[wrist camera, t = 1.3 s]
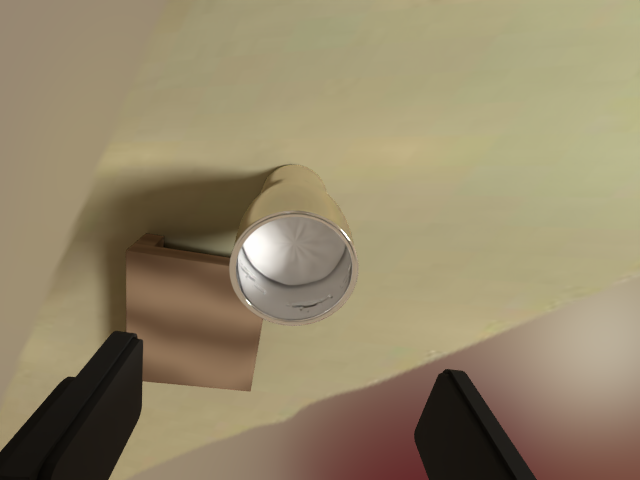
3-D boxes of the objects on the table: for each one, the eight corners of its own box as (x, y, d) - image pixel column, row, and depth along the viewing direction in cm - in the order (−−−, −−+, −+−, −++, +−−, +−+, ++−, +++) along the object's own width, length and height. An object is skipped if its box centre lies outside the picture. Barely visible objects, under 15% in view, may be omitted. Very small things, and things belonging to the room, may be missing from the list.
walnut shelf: (146, 233, 31) (125, 250, 27) (273, 253, 32) (271, 272, 29) (144, 351, 36) (126, 379, 32) (254, 363, 37) (250, 391, 34)
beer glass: (302, 245, 32) (309, 349, 18) (241, 205, 30) (198, 288, 16) (346, 189, 30) (390, 257, 17) (285, 143, 28) (276, 176, 15)
